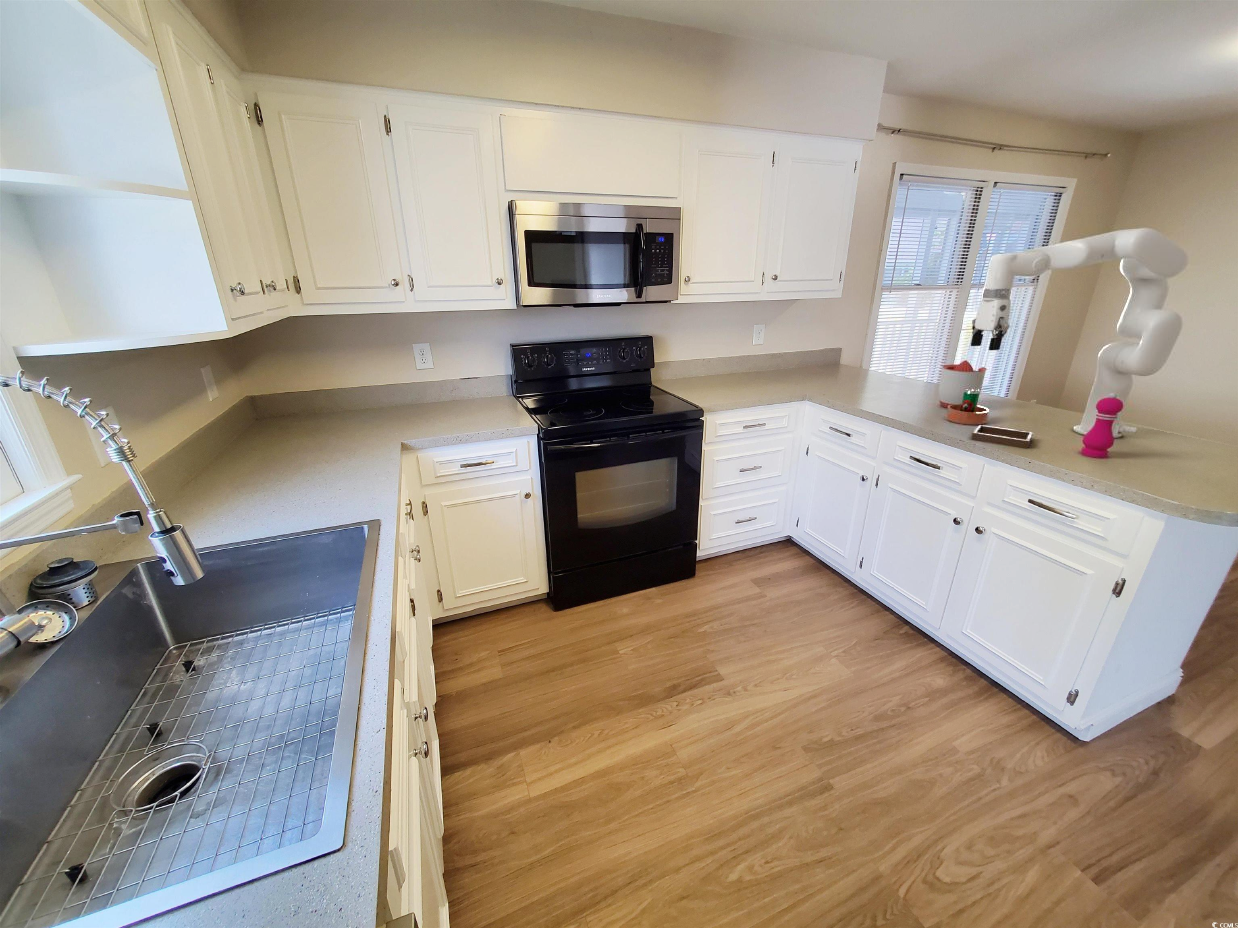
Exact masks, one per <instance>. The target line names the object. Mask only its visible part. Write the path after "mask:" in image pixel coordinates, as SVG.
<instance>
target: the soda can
mask: <svg viewBox="0 0 1238 928" xmlns="http://www.w3.org/2000/svg"><path fill="white" fill-rule="evenodd" d="M979 394H980V395H981V392H980V393H979V390H977V389H966V390H965V391H964V394H963V398H962V403H961V407H960V411H963V412H974V413H975V411H976V407H977V406H978V402H979V397H980V395H979Z"/></svg>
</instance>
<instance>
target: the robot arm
mask: <svg viewBox="0 0 1238 928" xmlns="http://www.w3.org/2000/svg"><path fill="white" fill-rule="evenodd" d="M1115 260H1121V261H1120V264H1119V270H1120V272H1121V274H1122V275H1123V276H1124V278H1125V279H1126V281H1128V283H1129V287H1130V291H1129V292H1130V293H1129V296H1128V299H1127V302H1126V304H1125V306H1124V309H1123V311H1122V313H1121V316H1120V318H1119V321H1118V323H1117V326H1116V332H1117V334H1118V335H1119V336H1121V337H1124V338H1128V339H1134V340H1140V342H1139V343H1137V342H1130V341H1115V342H1111V343H1109V344H1107V345H1105V346H1103V348H1102V349H1101V350H1100V351H1099V353H1098V355H1097V360H1096V372H1095V377H1094V381H1093V385H1092V388H1091V391H1090V394H1089V396H1088V400H1087V403H1086V406H1085V410H1084V413H1083V416H1082V419H1081V423H1080V424H1077V425H1074V426H1073V428H1072V429H1073V431H1074V432H1075V433H1077V434H1080V435H1084V436H1085V434H1086V433H1087V432H1088V431H1089V430H1090V429H1091V428H1092V427H1093V426H1094V424H1095V422H1096V417H1095V415H1096V412H1098V410H1097V409H1096V404H1097V402H1098V401H1099V400H1101V399H1103V398H1108V397H1109V394H1111V393H1116V394H1117V397H1116V398H1117V399H1119V400H1121V401H1122V402H1123V409H1122V411H1120V412H1119V413H1117V414H1118V416H1117V419H1116V420H1114V422H1113V425H1112V433H1113V437H1114V439H1117V438H1121V437H1122V435H1123V433H1129V434H1136V433H1137V429H1138V428H1137V427H1133V426H1132V425H1125V424H1124V425H1123V424H1122V421H1121V420H1122V416H1123V414H1124V412H1125V411H1124V410H1125V408H1126V405H1127V403H1128V402H1127V401H1128V400H1129V396H1130V394H1131V391H1132V388H1133V381H1134V379H1133V376H1138V377H1148V376H1152V375H1155V374H1156V373H1158V372H1159V371H1161V369H1162V368H1163V367H1164V366H1165V365H1166V363H1167V361H1168V359H1169V357H1170V355H1171V353H1172V351H1173V349H1174V346H1175V344H1176V343H1177V341H1178V338H1179V336H1180V334H1181V333H1182V330H1183V329H1182V328H1183V319H1182V316H1181V315H1180V313H1178V312H1176V311H1174V310H1170V309H1163V307H1164V305H1165V303H1166V300H1167V298H1168V295H1169V290H1170V289H1169V282H1168V280H1167V279H1171V278H1174V277H1176V276H1178V275H1180V274H1181V273H1182V272H1183V271H1184V270H1185V269H1186V268H1187V266H1188V263H1189V256H1188V254H1187V252H1186V251H1185V250H1184V249H1183V248H1182V247H1181V246H1179V245H1178V244H1177V243H1175V242H1174V241H1173V240H1171V239H1170V238H1168V237H1167V236H1165V235H1164V234H1163V233H1161V232H1159V231H1158V230H1156V229H1153V228H1151V227H1139V228H1128V229H1119V230H1114V231H1110V232H1105V233H1101V234H1097V235H1092V236H1088V237H1083V238H1078V239H1073V240H1068V241H1064V242H1060V243H1055V244H1050V245H1045V246H1041V247H1035V248H1031V249H1026V250H1021V251H1017V252H1014V253H997V254H993V255H992V256H991V257H990V259H989V262H988V268H987V273H986V277H985V283H984V285H983V290H982V295H981V300H980V303H979V306H978V310H977V312H976V317H975V318H974V319H973V320H972V321H971V324H972V326H971V330H972V331H971V334H972V337H971V341H970V347H981V346H982V342H983V338H984V332H985V331H986V332H991V334H992V337H990V341H989V345H988V351H999V350H1000V349H1001V345H1002V342H1003V339H1004V337H1005V335H1006V334H1007V332H1008V330H1009V328H1010V326H1011V325H1010V323H1009V321H1010V314H1011V304H1012V303H1011V296H1012V291H1013V287H1014V283H1015V279H1016V278H1035V277H1040V276H1041V275H1043V274H1044V273H1046V272H1048V271H1051V270H1070V269H1078V268H1083V267H1087V266H1090V265H1091V266H1093V265H1095V264H1100V263H1106V262H1110V261H1115Z"/></svg>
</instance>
